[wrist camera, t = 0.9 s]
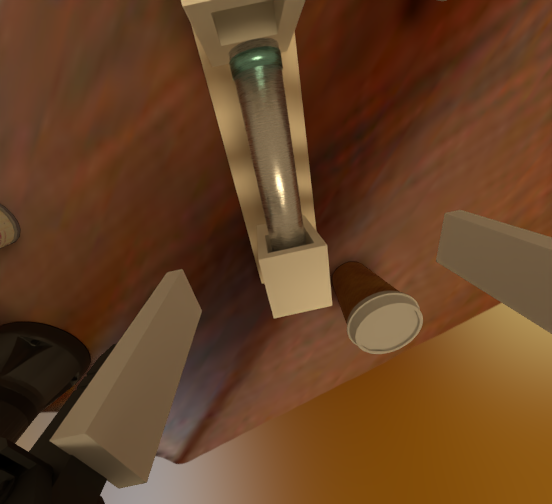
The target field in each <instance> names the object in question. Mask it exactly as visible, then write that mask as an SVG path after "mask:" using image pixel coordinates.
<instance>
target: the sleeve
mask: <svg viewBox="0 0 552 504" xmlns="http://www.w3.org/2000/svg"><path fill="white" fill-rule="evenodd" d="M302 218H303V225H304V233H305V240H306V245H303V246H299V247H294V248H289V249H285V250H280V251H276V252H272V247H271V243H270V238H269V234H268V229H267V225H266V224H261V225H257V242H258V260H259V264H260V268H261V272H262V275H263V279H264V283H265V287H266V291H267V294H268V298H269V302H270V306H271V310H272V313H273V317H274V318H278V317H283V316H287V315H292V314H296V313H301V312H306V311H310V310H315V309H319V308H324V307H329V306H332V296H331V284H330V273H329V262H328V250H327V244H326V243H325V242H324V240H323V239H322V238H321V236H320V235H319V234H318V233H317V231H316V230H315V229H314V227H313V226H312V225H311V223H310V222H309V221H308V219H307V218H306V217H305V216H304V215H303V216H302Z"/></svg>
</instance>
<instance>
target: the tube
mask: <svg viewBox="0 0 552 504" xmlns="http://www.w3.org/2000/svg"><path fill="white" fill-rule="evenodd" d="M229 60H230V62H229V65H230V70H231V74H232V79H233V81H234V82H235V86H236V91H237V95H238V100H239V104H240V109H241V113H242V118H243V122H244V127H245V131H246V135H247V140H248V144H249V149H250V153H251V158H252V162H253V167H254V171H255V176H256V180H257V185H258V189H259V194H260V198H261V202H262V207H263V211H264V216H265V220H266V225H267V229H268V234H269V238H270V243H271V247H272V252H276V251H280V250H285V249H289V248H294V247H299V246H303V245H306V240H305V233H304V225H303V218H302V211H301V204H300V197H299V189H298V182H297V175H296V168H295V160H294V153H293V146H292V139H291V131H290V124H289V117H288V110H287V103H286V95H285V88H284V81H283V74H282V70H283V65H282V57H281V51H280V49H279V45H278V42H277V41H276V40H275V39H272V38H256V39H251V40H248V41H245V42H242V43H240V44H238V45H236V46H235V47H234V48H232V49H231V50H230V52H229Z"/></svg>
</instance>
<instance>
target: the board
mask: <svg viewBox="0 0 552 504" xmlns="http://www.w3.org/2000/svg"><path fill="white" fill-rule="evenodd" d="M191 26H192V25H191ZM192 29H193V27H192ZM193 33H194V37H195V40H196V44H197V48H198V51H199V55H200V59H201V62H202V66H203V70H204V73H205V77H206V81H207V84H208V88H209V92H210V96H211V99H212V103H213V107H214V110H215V114H216V118H217V121H218V125H219V129H220V132H221V136H222V140H223V143H224V147H225V151H226V154H227V158H228V162H229V165H230V169H231V173H232V176H233V180H234V184H235V187H236V191H237V195H238V198H239V202H240V206H241V209H242V213H243V217H244V221H245V224H246V228H247V232H248V235H249V239H250V243H251V246H252V250H253V254H254V257H255V261H256V265H257V268H258V272H259V276H260V279H261V283H264V279H263V275H262V272H261V268H260V264H259V260H258V242H257V225H261V224H266V220H265V216H264V211H263V207H262V202H261V198H260V194H259V189H258V185H257V180H256V176H255V171H254V167H253V162H252V158H251V153H250V149H249V144H248V140H247V135H246V131H245V127H244V122H243V118H242V113H241V109H240V104H239V100H238V95H237V91H236V86H235V82H234V81H233V79H232V74H231V70H230V65H229V64H226V65H221V66H216V67H212V65H211V63H210V61H209V59H208V57H207V55H206V53H205V51H204V49H203V47H202V45H201V43H200V41H199V39H198V37H197V35H196V33H195V31H194V29H193ZM281 57H282V65H283V70H282V74H283V81H284V88H285V95H286V103H287V110H288V117H289V124H290V131H291V139H292V146H293V153H294V160H295V168H296V175H297V182H298V189H299V197H300V204H301V211H302V216H303V215H304V216H305V217H306V218H307V219H308V221H309V222H310V223H311V225H312V226H313V227H314V229H315V230H316V223H315V214H314V205H313V196H312V186H311V177H310V168H309V159H308V150H307V141H306V132H305V123H304V114H303V105H302V96H301V86H300V77H299V68H298V59H297V50H296V41H295V32H294V33H293V36H292V39H291V42H290V45H289V47H288V50H287V51H286V52H282V53H281Z"/></svg>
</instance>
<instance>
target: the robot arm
mask: <svg viewBox="0 0 552 504" xmlns="http://www.w3.org/2000/svg"><path fill="white" fill-rule="evenodd" d="M436 262H438V263H440V264H441V265H443V266H444V267H446V268H448V269H449V270H451V271H452V272H454V273H456V274H457V275H459V276H460V277H462V278H464V279H465V280H467V281H468V282H470V283H471V284H473V285H475V286H476V287H478V288H479V289H481V290H483V291H484V292H486V293H487V294H489V295H491V296H492V297H494V298H495V299H497V300H499V301H500V302H502V303H503V304H505V305H507V306H508V307H510V308H511V309H513V310H515V311H516V312H518V313H519V314H521V315H523V316H524V317H526V318H527V319H529V320H531V321H532V322H534V323H536V324H537V325H539V326H540V327H542V328H543V329H545V330H547V331H548V332H550V333H551V334H552V238H551V237H548V236H545V235H542V234H538V233H535V232H532V231H528V230H525V229H522V228H518V227H515V226H512V225H509V224H505V223H502V222H499V221H495V220H492V219H489V218H485V217H482V216H479V215H476V214H472V213H469V212H466V211H462V210H457V211H453V212H448V213H445V215H444V221H443V226H442V232H441V237H440V242H439V248H438V253H437V259H436ZM201 312H202V310H201V308H200V306H199V303H198V301H197V299H196V297H195V295H194V293H193V291H192V288H191V286H190V284H189V282H188V280H187V278H186V276H185V273H184V271H183V269H181V270H176V271H171V272H167V273H166V275H165V276H164V278H163V279H162V281H161V282H160V283H159V285H158V286H157V288H156V289H155V291H154V292H153V293H152V295H151V296H150V298H149V299H148V301H147V302H146V303H145V305H144V306H143V308H142V309H141V311H140V312H139V313H138V315H137V316H136V318H135V319H134V321H133V322H132V323H131V325H130V326H129V328H128V329H127V330H126V332H125V333H124V335H123V336H122V338H121V339H120V340H119V342H118V343H117V344H113V345H112V346H111V347H110V348H109V349H108V350H107V351H106V352H105V353H104V354H102V355H101V356H100V357H99V358H98V359H97V361H96V362H95V363H94V365H93V366H92V367H91V369H90V370H89V371H88V373H87V376H86V377H84V378H83V380H82V381H81V382H80V384H79V385H78V386H77V390H76V391H74V392H73V393H72V394H71V396H70V397H69V398H68V400H67V401H66V403H65V404H64V405H63V407H62V408H61V409H60V411H59V412H58V413H57V415H56V416H55V417H54V419H53V420H52V421H51V423H50V424H49V426H48V427H47V428H46V430H45V431H44V432H43V434H42V435H41V436H40V438H39V439H38V440H37V442H36V443H35V444H34V446H33V447H32V448H31V450H30V451H29V452H28V451H26V450H24V449H23V448H21V447H19V446H17V445H16V444H15V443H16V442H17V440H18V439H19V438H20V437H21V435H22V434H23V433H24V432H25V430H26V429H27V428H28V426H29V425H30V424H31V423H32V421H33V420H34V419H35V418H36V417H37V415H38V414H39V413H40V412H41V411H42V410H44V409H45V408H46V407H47V406H49V405H50V404H51V403H52V402H54V401H55V400H56V399H57V398H59V397H60V396H61V395H62V394H63V393H65V392H66V391H67V390H68V389H70V388H71V387H72V386H73V385H75V384H76V383H77V382H78V381H79V380H80V378H81V377H82V376H83V374H84V373H85V372H86V370H87V369H88V367H89V365H90V356H89V353H88V351H87V349H86V348H85V347H84V345H83V344H82V343H81V342H80V341H78V340H77V339H76V338H74V337H73V336H71V335H70V334H68V333H66V332H64V331H62V330H60V329H57V328H54V327H51V326H48V325H44V324H38V323H30V322H17V323H10V324H6V325H3V326H0V504H105V503H104V501H103V498H102V497H101V496H100V494H101V492H102V489H103V487H104V485H105V483H106V481H109V482H110V483H112V484H113V485H114V486H116V487H117V488H123V487H128V486H133V485H138V484H143V483H146V482H147V480H148V477H149V473H150V471H151V468H152V464H153V461H154V458H155V455H156V452H157V449H158V446H159V443H160V440H161V437H162V433H163V430H164V427H165V424H166V421H167V418H168V415H169V412H170V409H171V406H172V402H173V399H174V396H175V393H176V390H177V387H178V384H179V381H180V378H181V374H182V371H183V368H184V365H185V362H186V359H187V356H188V353H189V350H190V347H191V343H192V340H193V337H194V334H195V331H196V328H197V325H198V322H199V319H200V315H201Z"/></svg>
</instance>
